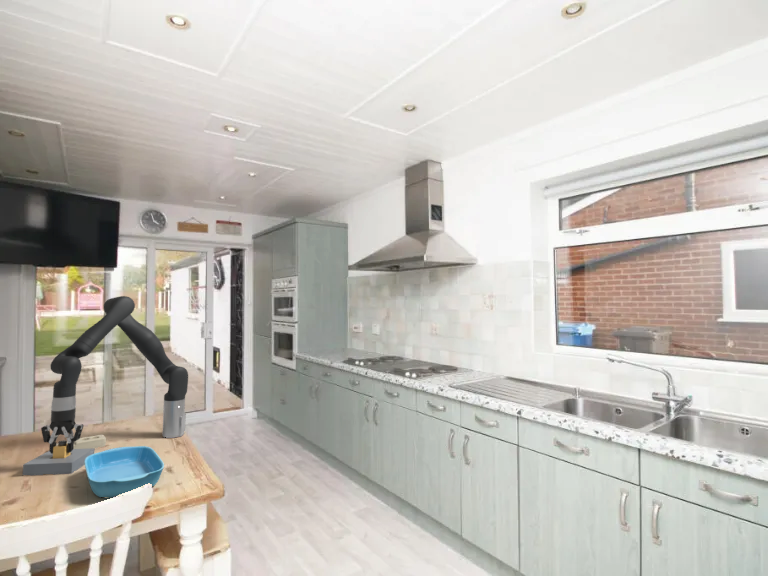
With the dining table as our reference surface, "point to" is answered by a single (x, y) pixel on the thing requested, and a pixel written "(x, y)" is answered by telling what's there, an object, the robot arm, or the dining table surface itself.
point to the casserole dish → (122, 470)
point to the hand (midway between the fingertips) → (61, 452)
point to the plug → (60, 450)
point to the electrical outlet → (90, 442)
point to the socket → (57, 463)
